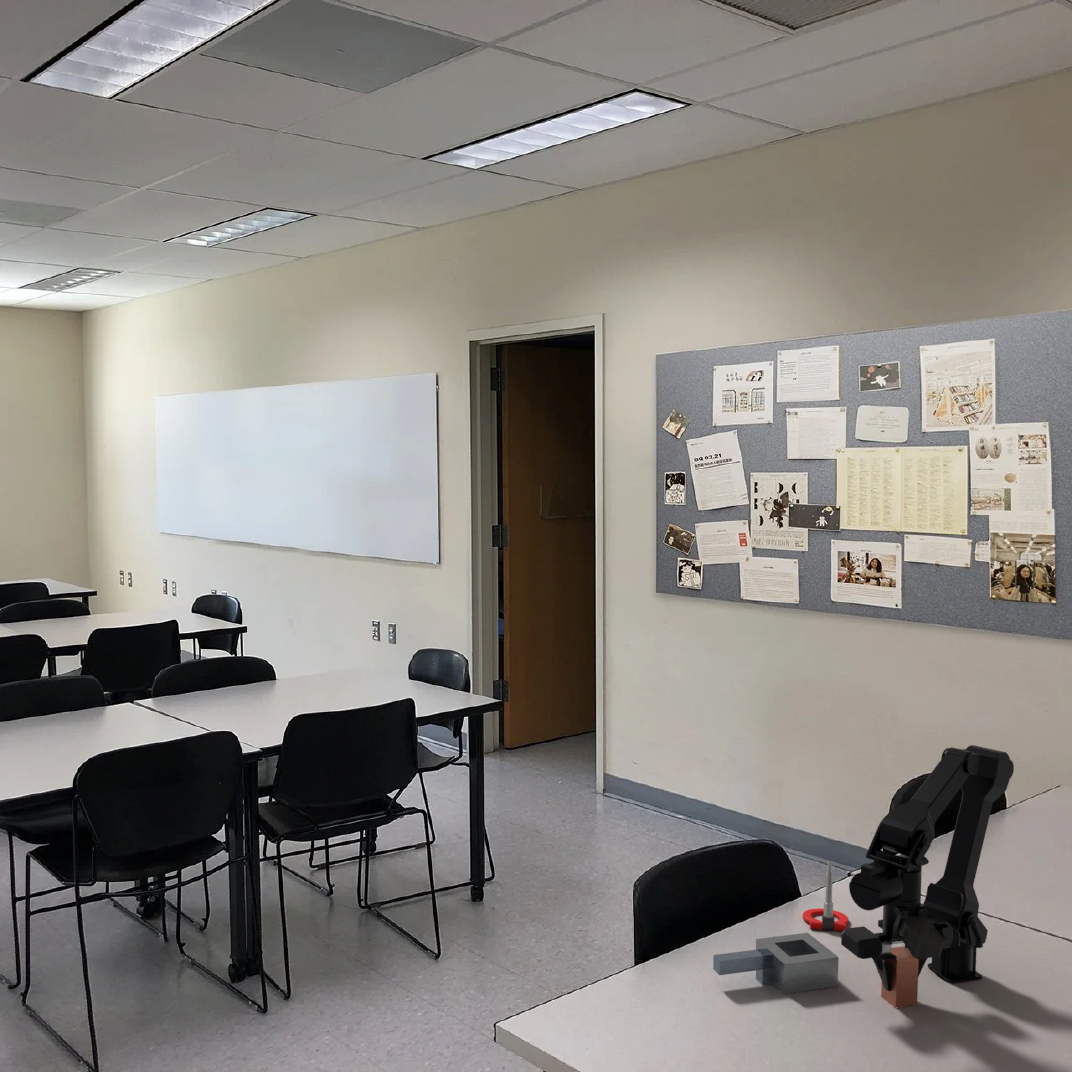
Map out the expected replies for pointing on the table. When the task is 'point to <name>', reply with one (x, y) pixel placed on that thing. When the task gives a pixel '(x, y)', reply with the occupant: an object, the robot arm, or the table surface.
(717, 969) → the square frame with handle
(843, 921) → the tow hook
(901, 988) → the square peg
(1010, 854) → the table surface
